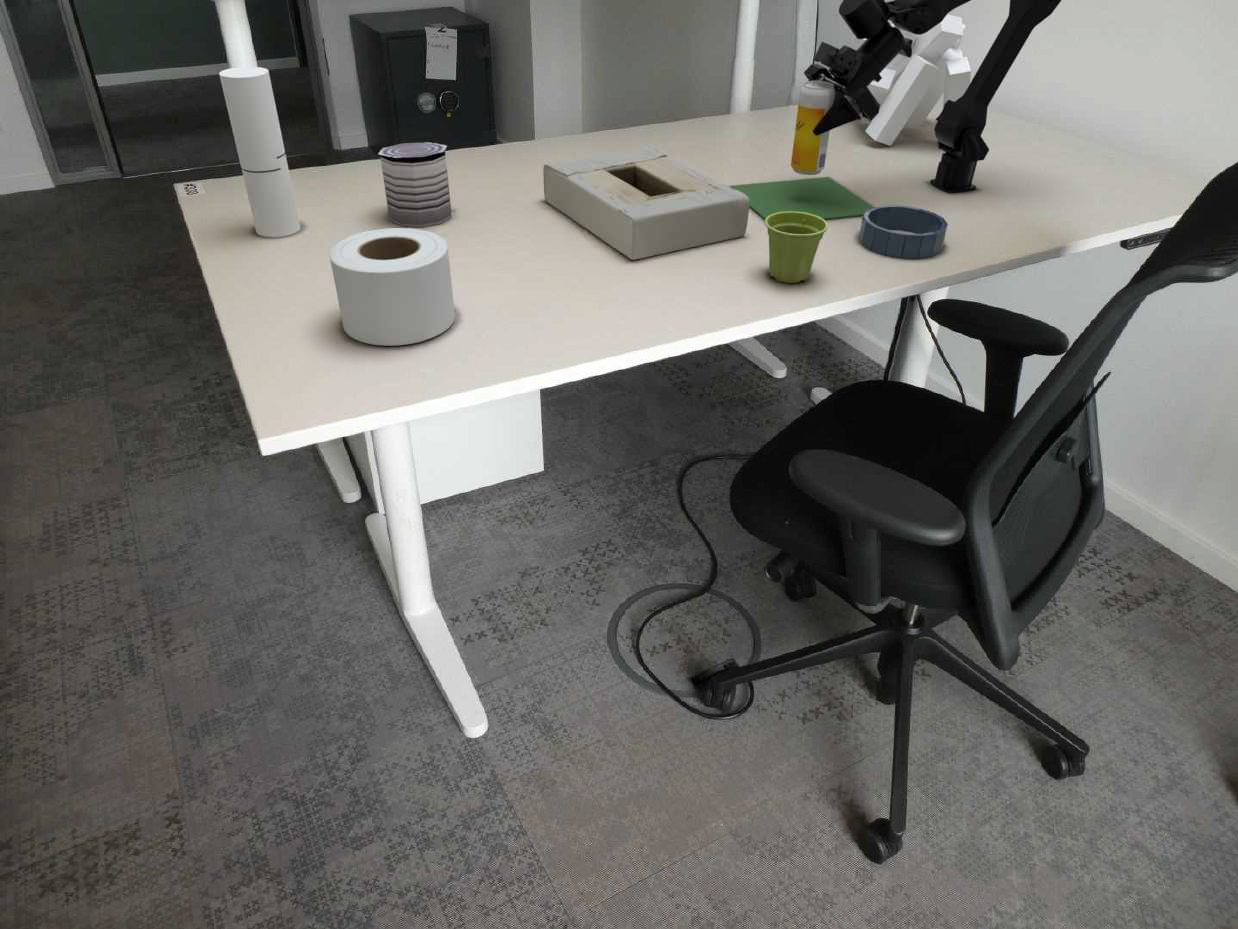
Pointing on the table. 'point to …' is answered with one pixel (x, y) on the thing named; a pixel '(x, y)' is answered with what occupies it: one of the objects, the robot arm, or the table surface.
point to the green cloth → (804, 198)
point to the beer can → (811, 127)
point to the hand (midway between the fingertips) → (805, 128)
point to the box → (645, 202)
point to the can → (416, 184)
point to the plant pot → (793, 244)
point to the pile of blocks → (919, 79)
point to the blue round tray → (903, 243)
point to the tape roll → (393, 285)
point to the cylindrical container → (260, 150)
